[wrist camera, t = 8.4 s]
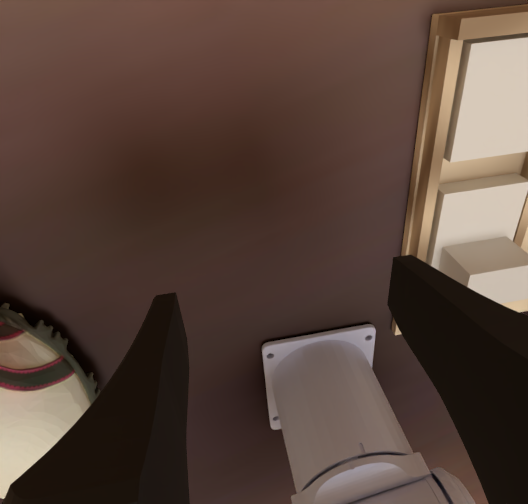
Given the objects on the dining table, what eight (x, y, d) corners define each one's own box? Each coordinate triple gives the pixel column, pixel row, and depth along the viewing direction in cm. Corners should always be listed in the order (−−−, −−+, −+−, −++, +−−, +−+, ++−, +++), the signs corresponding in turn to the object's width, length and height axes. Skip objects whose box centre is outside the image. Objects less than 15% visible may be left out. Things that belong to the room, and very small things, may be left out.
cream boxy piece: (492, 258, 27) (535, 297, 24) (419, 270, 27) (453, 312, 24) (555, 29, 20) (631, 39, 17) (456, 40, 19) (513, 53, 16)
